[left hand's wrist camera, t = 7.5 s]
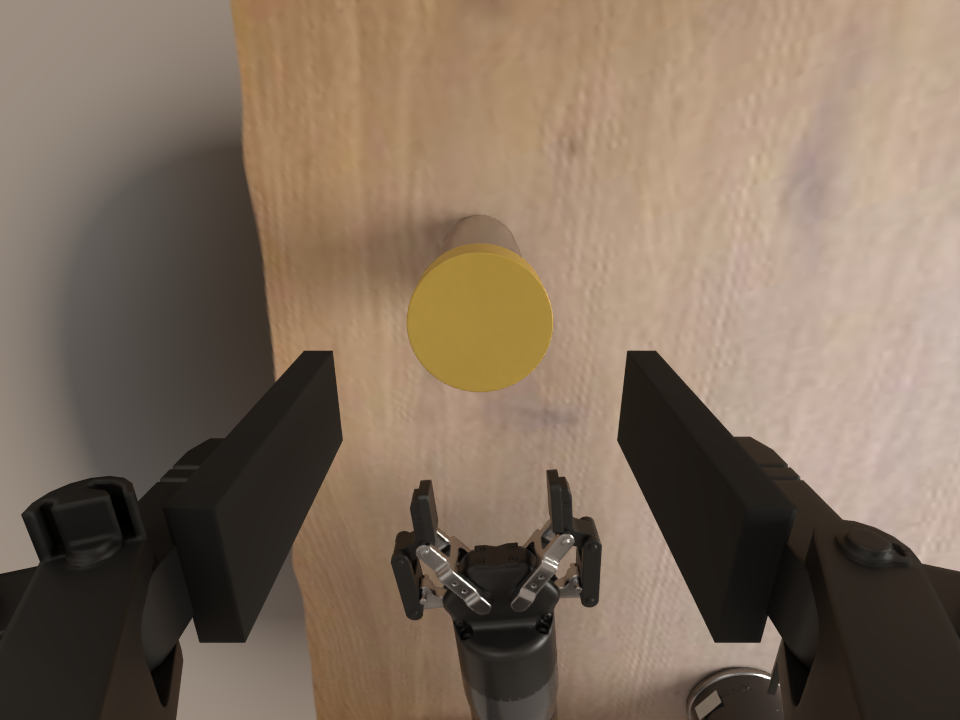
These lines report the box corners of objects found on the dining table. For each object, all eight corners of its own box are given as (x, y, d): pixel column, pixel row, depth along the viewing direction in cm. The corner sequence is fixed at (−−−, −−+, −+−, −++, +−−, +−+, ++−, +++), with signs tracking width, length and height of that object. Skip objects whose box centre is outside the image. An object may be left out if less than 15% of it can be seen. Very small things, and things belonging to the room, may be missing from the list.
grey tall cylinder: (466, 200, 34) (455, 234, 19) (531, 240, 34) (568, 300, 20) (429, 266, 35) (394, 343, 21) (492, 302, 36) (500, 400, 22)
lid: (454, 216, 20) (451, 222, 18) (572, 287, 22) (582, 300, 20) (390, 332, 22) (381, 350, 20) (502, 393, 23) (504, 415, 21)
